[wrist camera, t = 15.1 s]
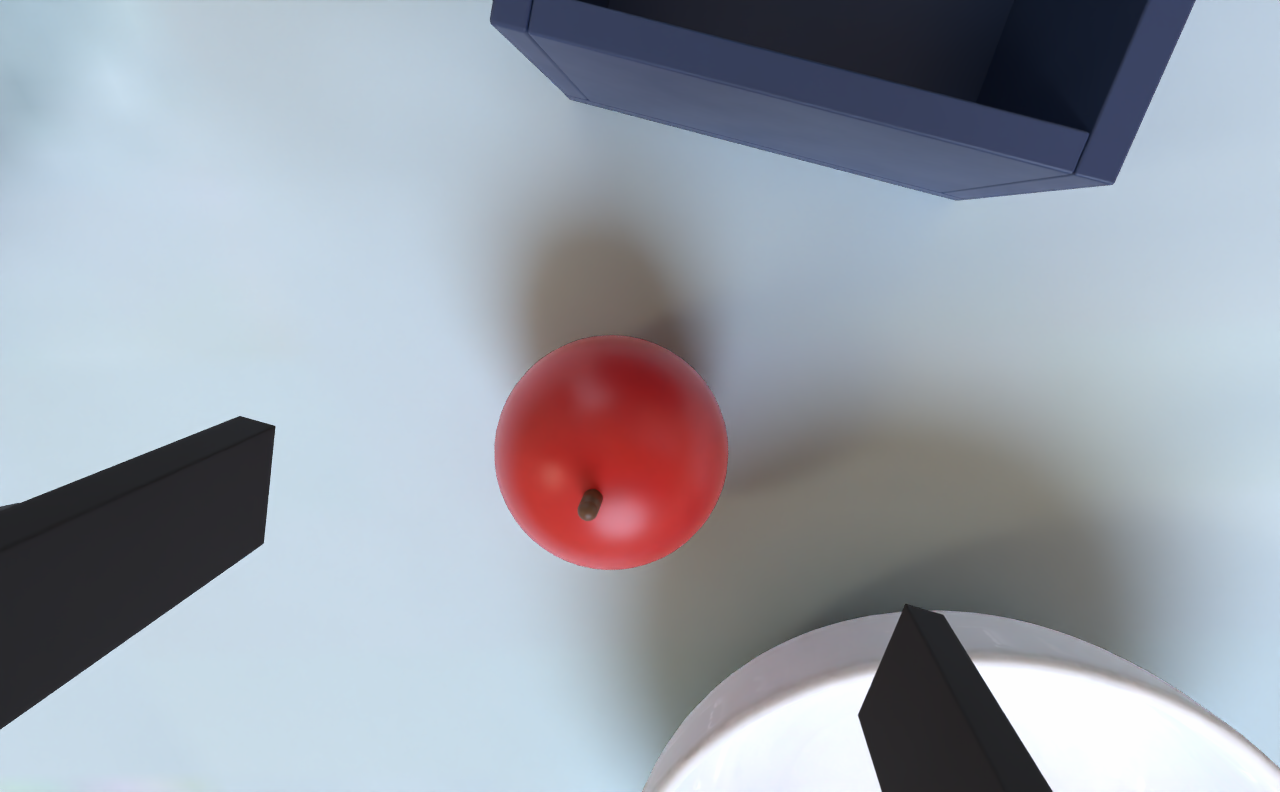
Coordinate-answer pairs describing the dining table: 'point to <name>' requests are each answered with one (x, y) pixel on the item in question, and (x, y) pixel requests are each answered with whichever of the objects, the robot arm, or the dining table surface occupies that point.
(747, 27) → the lunchbox
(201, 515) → the robot arm
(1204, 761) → the serving bowl
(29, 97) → the dining table surface
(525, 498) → the apple
